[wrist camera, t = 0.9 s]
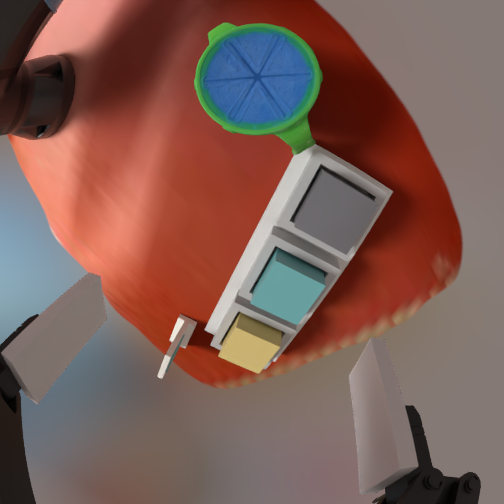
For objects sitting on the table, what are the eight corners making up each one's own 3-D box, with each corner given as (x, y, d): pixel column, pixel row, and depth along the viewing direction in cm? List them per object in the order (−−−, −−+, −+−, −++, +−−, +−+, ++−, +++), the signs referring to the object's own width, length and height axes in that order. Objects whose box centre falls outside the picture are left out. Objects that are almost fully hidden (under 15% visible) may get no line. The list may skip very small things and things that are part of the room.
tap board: (208, 322, 42) (198, 343, 37) (302, 137, 30) (304, 137, 25) (275, 353, 43) (273, 375, 38) (387, 188, 30) (402, 197, 26)
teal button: (255, 285, 34) (250, 303, 30) (277, 245, 31) (275, 260, 28) (297, 305, 34) (297, 325, 31) (322, 268, 32) (325, 285, 28)
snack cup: (338, 134, 29) (357, 132, 20) (257, 170, 32) (241, 183, 23) (276, 26, 24) (268, -13, 15) (199, 64, 27) (164, 40, 18)
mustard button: (224, 337, 38) (218, 356, 34) (241, 308, 36) (235, 327, 32) (262, 354, 38) (258, 373, 35) (282, 327, 36) (280, 347, 32)
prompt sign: (171, 336, 45) (150, 373, 37) (180, 313, 42) (158, 350, 34) (187, 344, 45) (168, 382, 37) (197, 322, 42) (178, 361, 34)
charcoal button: (294, 215, 30) (294, 227, 26) (320, 167, 27) (325, 172, 24) (340, 240, 30) (346, 255, 26) (368, 195, 28) (378, 204, 24)
